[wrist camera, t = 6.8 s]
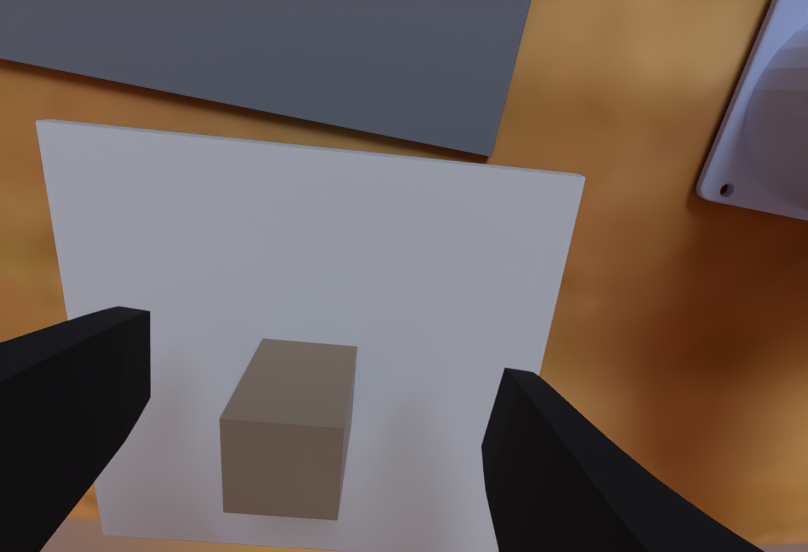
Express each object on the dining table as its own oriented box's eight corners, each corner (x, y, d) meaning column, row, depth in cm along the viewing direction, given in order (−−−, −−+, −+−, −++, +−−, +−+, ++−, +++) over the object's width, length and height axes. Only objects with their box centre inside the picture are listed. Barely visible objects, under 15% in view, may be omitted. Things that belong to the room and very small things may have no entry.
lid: (578, 173, 14) (654, 211, 10) (492, 547, 20) (518, 676, 15) (50, 119, 14) (-110, 135, 9) (111, 521, 19) (27, 648, 15)
